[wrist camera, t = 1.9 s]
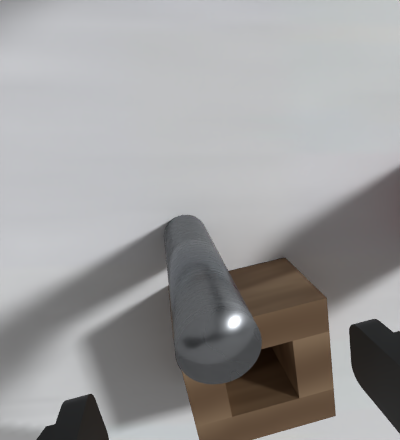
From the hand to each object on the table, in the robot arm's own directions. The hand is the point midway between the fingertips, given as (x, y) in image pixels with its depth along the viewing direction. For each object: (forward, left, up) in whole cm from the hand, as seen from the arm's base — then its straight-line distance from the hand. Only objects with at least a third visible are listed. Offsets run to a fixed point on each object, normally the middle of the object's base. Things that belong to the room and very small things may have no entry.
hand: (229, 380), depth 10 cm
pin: (0, 0, -13) cm, 13 cm away
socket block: (+8, +3, -13) cm, 16 cm away
